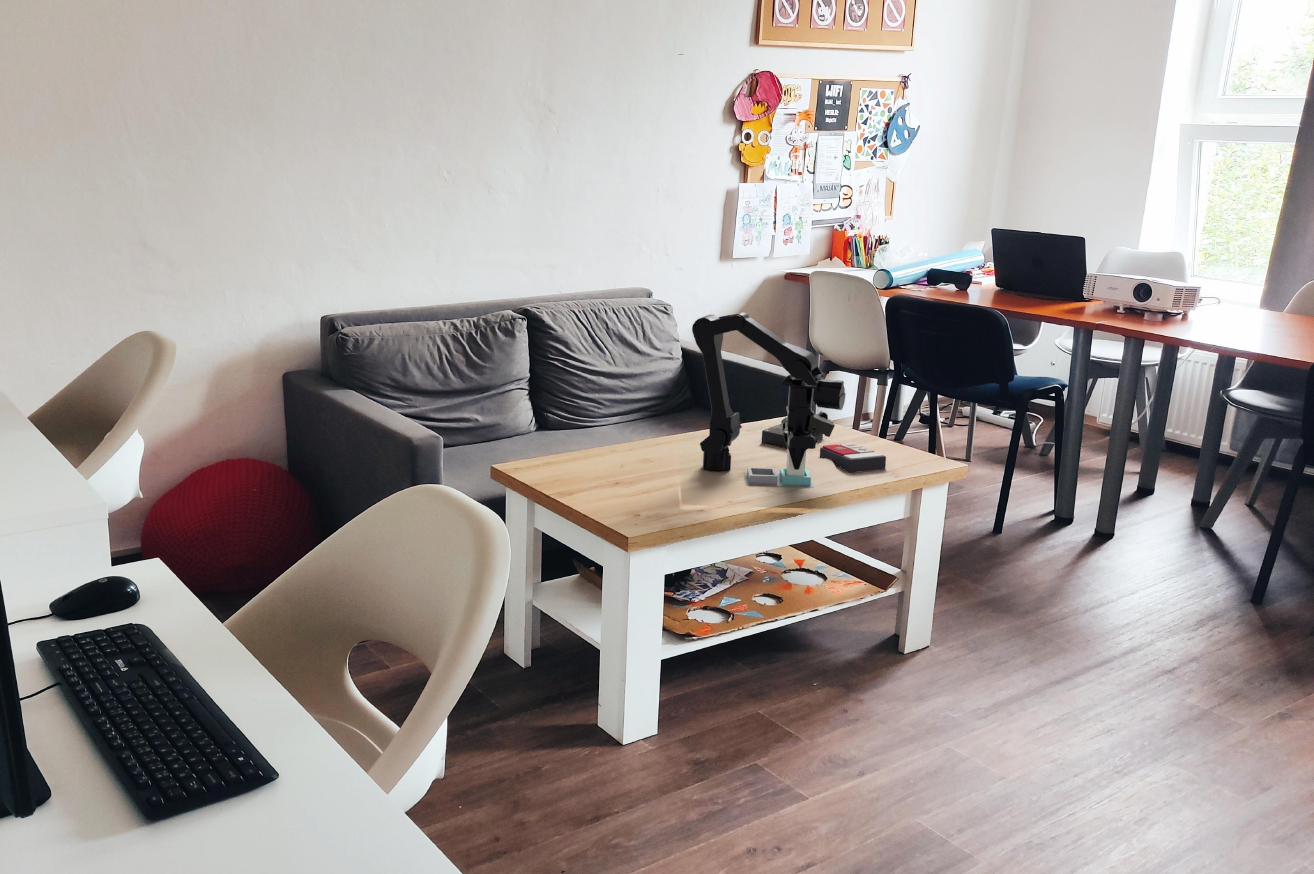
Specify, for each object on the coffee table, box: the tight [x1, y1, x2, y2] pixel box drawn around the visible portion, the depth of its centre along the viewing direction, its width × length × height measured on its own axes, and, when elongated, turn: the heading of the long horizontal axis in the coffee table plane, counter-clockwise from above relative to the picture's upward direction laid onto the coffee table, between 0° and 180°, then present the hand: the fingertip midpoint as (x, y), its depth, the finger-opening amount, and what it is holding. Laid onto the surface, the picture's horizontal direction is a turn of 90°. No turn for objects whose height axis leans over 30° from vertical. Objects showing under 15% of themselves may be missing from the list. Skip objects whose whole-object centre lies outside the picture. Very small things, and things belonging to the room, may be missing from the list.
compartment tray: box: [744, 466, 814, 489], centre depth 266 cm, size 16×10×3 cm, turn 90°
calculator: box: [819, 442, 887, 474], centre depth 286 cm, size 11×4×15 cm
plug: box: [785, 448, 807, 476], centre depth 265 cm, size 4×4×7 cm
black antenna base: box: [760, 423, 824, 450], centre depth 304 cm, size 20×14×17 cm
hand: (795, 466), depth 265 cm, fingers closed on plug, 4 cm apart
